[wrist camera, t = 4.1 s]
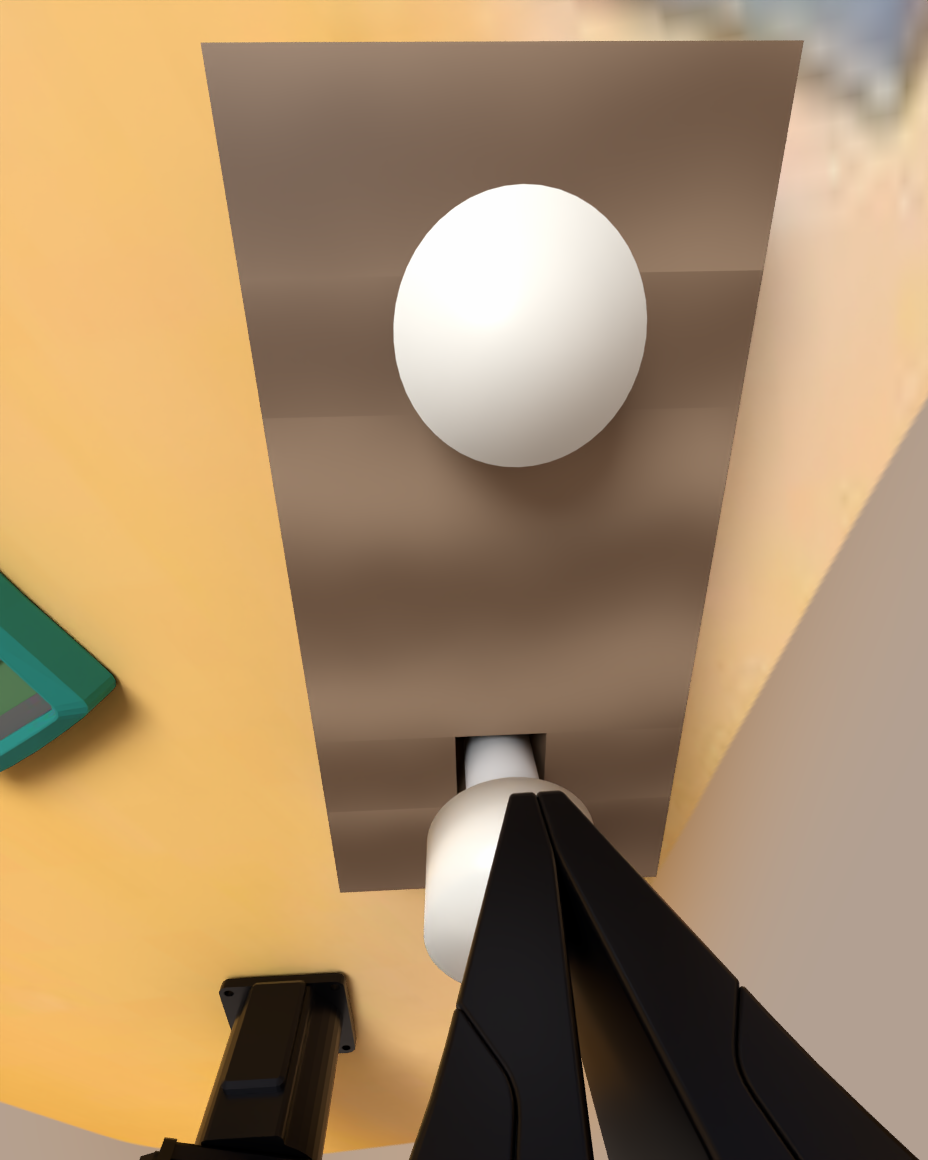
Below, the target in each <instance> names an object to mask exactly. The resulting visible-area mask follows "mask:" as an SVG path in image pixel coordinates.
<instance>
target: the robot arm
mask: <svg viewBox="0 0 928 1160" xmlns="http://www.w3.org/2000/svg"><path fill="white" fill-rule="evenodd" d="M219 995H220V998H221V1001H222V1004H223V1007H224V1010H225V1013H226V1016H227V1019H228V1022H229V1025H230V1028H231V1033H230V1036H229V1039H228V1042H227V1046H226V1049H225V1052H224V1055H223V1058H222V1061H221V1064H220V1067H219V1070H218V1073H217V1076H216V1080H215V1083H214V1086H213V1089H212V1092H211V1095H210V1098H209V1101H208V1104H207V1107H206V1110H205V1114H204V1117H203V1120H202V1123H201V1126H200V1129H199V1132H198V1135H197V1138H196V1141H195V1144H187V1143H180V1142H177V1139H174V1138H166V1137H165V1138H164V1141H163V1144H162V1147H161V1149H160V1151H155V1152H154V1153H151V1154H147V1155H144V1156H141V1157H140V1160H322V1155H323V1149H324V1143H325V1136H326V1130H327V1123H328V1117H329V1110H330V1104H331V1097H332V1091H333V1084H334V1078H335V1071H336V1065H337V1059H338V1053H349V1052H352V1051H354V1050H355V1044H356V1034H355V1029H354V1023H353V1017H352V1011H351V1006H350V1000H349V994H348V988H347V983H346V978H345V976H343V975H342V974H339V973H331V974H313V975H294V976H276V977H258V978H240V979H227V980H225V981H223V983H222V985H221V988H220V991H219ZM456 1008H457V1009H456V1010H455V1011H454V1013H453V1017H452V1021H451V1025H450V1029H449V1033H448V1037H447V1040H446V1044H445V1048H444V1051H443V1055H442V1058H441V1062H440V1065H439V1069H438V1072H437V1076H436V1079H435V1083H434V1086H433V1090H432V1093H431V1097H430V1100H429V1103H428V1106H427V1109H426V1112H425V1114H424V1117H423V1120H422V1123H421V1126H420V1129H419V1132H418V1135H417V1138H416V1141H415V1144H414V1147H413V1149H412V1153H411V1155H410V1158H409V1160H594V1156H593V1148H592V1140H591V1132H590V1124H589V1116H588V1108H587V1101H586V1092H585V1084H584V1077H583V1068H582V1062H583V1065H584V1069H585V1073H586V1077H587V1080H588V1084H589V1088H590V1091H591V1095H592V1099H593V1103H594V1107H595V1110H596V1114H597V1118H598V1121H599V1125H600V1129H601V1133H602V1136H603V1140H604V1144H605V1148H606V1151H607V1155H608V1159H609V1160H919V1159H918V1158H917V1157H915V1156H914V1155H913V1154H912V1153H911V1152H910V1151H909V1150H908V1149H907V1148H906V1147H905V1146H904V1145H903V1144H902V1143H900V1142H899V1141H898V1140H897V1139H896V1138H895V1137H894V1136H893V1135H892V1134H891V1133H890V1132H889V1131H888V1130H887V1129H885V1128H884V1127H883V1126H882V1125H881V1124H880V1123H879V1122H878V1121H877V1120H876V1119H875V1118H874V1117H873V1116H872V1115H871V1114H869V1112H867V1111H866V1110H865V1109H864V1108H863V1107H862V1106H861V1105H860V1104H859V1103H858V1102H857V1101H856V1100H855V1099H854V1098H853V1097H852V1096H851V1095H850V1094H849V1093H848V1092H847V1091H846V1090H845V1089H844V1088H843V1087H842V1086H840V1085H839V1084H838V1083H837V1082H836V1081H835V1080H834V1079H833V1078H832V1077H831V1076H830V1075H829V1074H828V1073H827V1072H826V1071H825V1070H824V1069H823V1068H822V1067H821V1066H820V1065H819V1064H818V1063H817V1062H816V1061H815V1060H814V1059H813V1058H812V1057H811V1056H810V1055H809V1054H808V1053H807V1052H806V1051H805V1050H804V1049H803V1048H802V1047H801V1046H800V1045H799V1044H798V1043H797V1042H796V1040H794V1039H793V1037H792V1036H791V1035H789V1033H788V1032H787V1031H786V1030H785V1029H784V1028H783V1027H782V1026H781V1025H780V1024H779V1023H778V1022H777V1021H776V1020H775V1019H774V1018H773V1017H772V1016H771V1015H770V1014H769V1013H768V1011H767V1010H766V1009H765V1008H764V1007H763V1006H762V1005H761V1004H760V1003H759V1002H758V1001H757V1000H756V999H755V997H754V996H753V995H752V994H751V993H750V992H749V991H748V990H747V989H746V988H745V987H743V986H741V987H740V988H739V981H738V979H737V978H736V977H735V976H734V975H733V974H732V973H731V972H730V971H729V970H728V969H727V967H726V966H725V965H724V964H723V963H722V962H721V961H720V960H719V959H718V958H717V957H716V956H715V955H714V954H713V953H712V951H711V950H710V949H709V948H708V947H707V946H706V945H705V944H704V943H703V942H702V941H701V940H700V938H698V936H696V934H695V933H694V932H693V931H692V930H691V929H690V928H689V927H688V926H687V925H686V923H685V922H684V921H683V920H682V919H681V918H680V917H679V916H678V915H677V914H676V913H675V912H674V910H673V909H672V908H671V907H670V906H669V905H668V904H667V903H666V902H665V901H664V900H663V899H662V898H661V897H660V896H659V895H658V894H657V892H656V891H655V890H654V889H653V888H652V887H651V886H650V885H649V884H648V882H647V881H646V880H645V879H644V878H643V877H642V876H641V875H640V874H639V873H638V872H637V871H636V870H635V869H634V867H633V866H632V865H631V864H630V863H629V862H628V861H627V860H626V859H625V858H624V857H623V856H622V855H621V853H620V852H619V851H618V850H617V849H616V848H615V847H614V846H613V845H612V844H611V843H610V842H609V841H608V839H607V838H606V837H605V836H604V835H603V834H602V833H601V832H600V831H599V830H598V829H597V828H596V827H595V825H594V824H593V823H592V822H591V821H590V820H589V819H588V818H587V817H586V816H585V815H584V814H583V813H582V811H581V810H580V809H579V808H578V807H577V806H576V805H575V804H574V803H573V802H572V801H571V800H570V799H569V797H568V796H567V795H566V794H565V793H564V792H562V791H560V790H555V791H540V792H538V793H537V795H535V793H533V792H523V793H512V794H511V795H510V796H509V800H508V803H507V807H506V811H505V815H504V819H503V823H502V827H501V831H500V835H499V839H498V843H497V847H496V850H495V854H494V858H493V862H492V866H491V870H490V874H489V878H488V882H487V886H486V890H485V894H484V897H483V901H482V905H481V909H480V913H479V917H478V921H477V925H476V929H475V933H474V937H473V940H472V944H471V948H470V952H469V956H468V960H467V964H466V968H465V972H464V976H463V980H462V983H461V987H460V991H459V995H458V999H457V1003H456ZM581 1058H582V1060H581Z"/></svg>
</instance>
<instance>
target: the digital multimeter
mask: <svg viewBox="0 0 928 1160" xmlns="http://www.w3.org/2000/svg"><path fill="white" fill-rule="evenodd" d="M115 687H116V680H115V679H114V677H113V675H112V674H111V673H110V672H109V671H108V670H106V669H105V668H104V667H103V666H102V665H101V664H100V663H99V662H98V661H97V660H96V659H95V658H94V657H93V656H92V655H91V654H89V653H88V652H87V651H86V650H85V649H84V648H83V647H82V646H81V645H80V644H78V643H77V642H76V641H75V640H74V639H73V638H72V637H71V636H70V635H68V634H67V633H66V632H65V631H64V630H63V629H62V628H61V627H59V626H58V625H57V624H56V623H55V622H54V621H53V620H52V619H50V618H49V617H48V616H47V615H46V614H45V613H44V612H43V611H41V610H40V609H39V608H38V607H37V606H36V605H35V604H34V603H32V602H31V601H30V600H29V599H28V598H27V597H26V596H25V595H24V594H23V593H22V592H21V591H20V590H18V589H17V588H16V587H15V586H14V585H13V584H12V583H11V582H10V581H9V580H8V579H7V578H6V577H5V576H4V575H3V574H2V573H1V572H0V772H1V771H3V770H5V769H7V768H9V767H11V766H13V765H15V764H16V763H18V762H20V761H21V760H23V759H25V758H26V757H28V756H30V755H31V754H33V753H35V752H36V751H38V750H39V749H41V748H42V747H44V746H45V745H46V744H48V743H49V742H51V741H52V740H54V739H55V738H57V737H58V736H59V735H61V734H62V733H63V732H65V731H66V730H67V729H69V728H70V727H71V726H73V725H74V724H75V723H77V722H78V721H79V720H81V719H82V718H84V717H85V716H86V715H87V714H88V713H89V712H90V711H91V710H92V709H93V708H94V707H95V706H96V705H97V704H98V703H100V702H101V701H102V700H103V699H104V698H105V697H106V696H107V695H108V694H109V693H110V692H111V691H112V690H113V689H114V688H115ZM49 710H50V711H49ZM44 713H45V714H44Z"/></svg>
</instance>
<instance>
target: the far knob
mask: <svg viewBox="0 0 928 1160" xmlns="http://www.w3.org/2000/svg"><path fill="white" fill-rule="evenodd" d="M464 761H465V780H466V790H464V791H462V792H460V793H459V794H457V795H456V796H454V797H453V798H452V799H450V800H449V801H448V802H447V803H446V804H445V805H444V806H443V807H442V808H441V809H440V811H439V812H438V813H437V814H436V816H435V818H434V819H433V821H432V823H431V826H430V828H429V832H428V837H427V857H426V885H425V914H424V941H425V946H426V949H427V951H428V954H429V956H430V957H431V959H432V960H433V962H434V963H435V964H436V965H437V966H438V968H439V969H440V970H442V971H443V972H444V973H445V974H446V975H448V976H449V977H451V978H453V979H454V980H456V981H458V982H460V983H462V980H463V976H464V972H465V968H466V964H467V960H468V956H469V952H470V948H471V944H472V940H473V937H474V933H475V929H476V925H477V921H478V917H479V913H480V909H481V905H482V901H483V897H484V894H485V890H486V886H487V882H488V878H489V874H490V870H491V866H492V862H493V858H494V854H495V850H496V847H497V843H498V839H499V835H500V831H501V827H502V823H503V819H504V815H505V811H506V807H507V803H508V800H509V796H510V795H511V794H512V793H523V792H533V793H535V795H537V793H538V792H540V791H555V790H560V791H562V792H564V793H565V794H566V795H567V796H568V797H569V799H570V800H571V801H572V802H573V803H574V804H575V805H576V806H577V807H578V808H579V809H580V810H581V811H582V813H583V814H584V815H585V816H586V817H587V818H588V819H589V820H590V821H591V822H592V823H593V821H592V818H591V815H590V813H589V811H588V810H587V808H586V807H585V805H584V804H583V803H582V802H581V800H579V799H578V798H577V797H576V796H575V795H574V794H573V793H571V792H570V791H568V790H567V789H565V788H563V787H561V786H559V785H557V784H554V783H551V782H548V781H545V780H540V779H539V776H538V772H537V768H536V764H535V760H534V755H533V751H532V747H531V743H530V739H529V735H528V734H513V735H489V736H466V737H465V740H464Z"/></svg>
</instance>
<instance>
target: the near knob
mask: <svg viewBox="0 0 928 1160" xmlns="http://www.w3.org/2000/svg"><path fill="white" fill-rule="evenodd" d="M646 331H647V310H646V298H645V293H644V288H643V283H642V279H641V276H640V273H639V270H638V267H637V264H636V262H635V260H634V257H633V255H632V253H631V251H630V249H629V247H628V245H627V244H626V242H625V241H624V239H623V238H622V236H621V235H620V233H619V232H618V231H617V229H616V228H615V227H614V226H613V225H612V224H611V223H610V221H609V220H608V219H607V218H606V217H605V216H604V215H602V214H601V213H600V212H599V211H598V210H597V209H595V208H594V207H593V206H592V205H590V204H588V203H587V202H585V201H583V200H582V199H580V198H579V197H577V196H575V195H572V194H570V193H567V192H565V191H563V190H560V189H556V188H552V187H548V186H543V185H532V184H518V185H507V186H502V187H498V188H494V189H491V190H487V191H485V192H482V193H480V194H478V195H475V196H473V197H471V198H469V199H467V200H466V201H464V202H463V203H461V204H459V205H458V206H456V207H454V208H453V209H452V210H451V211H450V212H448V213H447V214H446V215H445V216H444V217H442V218H441V219H440V220H439V221H438V222H437V223H436V224H435V225H434V227H433V228H432V229H431V230H430V231H429V232H428V233H427V234H426V236H425V237H424V239H423V240H422V242H421V243H420V244H419V246H418V247H417V249H416V250H415V252H414V254H413V256H412V258H411V260H410V262H409V264H408V266H407V268H406V271H405V273H404V276H403V279H402V281H401V284H400V288H399V292H398V296H397V300H396V305H395V314H394V348H395V356H396V362H397V366H398V370H399V374H400V378H401V380H402V383H403V386H404V388H405V391H406V394H407V395H408V397H409V399H410V401H411V403H412V405H413V407H414V409H415V410H416V411H417V413H418V414H419V416H420V417H421V419H422V420H423V421H424V423H425V424H426V425H427V426H428V427H429V428H430V429H431V430H432V432H433V433H434V434H435V435H436V436H438V437H439V438H440V439H441V440H442V441H443V442H445V443H446V444H447V445H449V446H450V447H452V448H453V449H455V450H456V451H458V452H459V453H461V454H463V455H465V456H468V457H470V458H472V459H474V460H477V461H480V462H483V463H487V464H491V465H497V466H502V467H526V466H535V465H539V464H544V463H548V462H551V461H553V460H556V459H559V458H562V457H564V456H566V455H568V454H570V453H572V452H574V451H575V450H577V449H579V448H580V447H582V446H583V445H585V444H586V443H587V442H589V441H590V440H591V439H593V438H594V437H595V436H596V435H597V434H598V433H599V432H601V431H602V430H603V429H604V427H605V426H606V425H607V424H608V423H609V422H610V421H611V420H612V419H613V417H614V416H615V415H616V413H617V412H618V410H619V409H620V408H621V406H622V405H623V403H624V401H625V400H626V398H627V396H628V394H629V392H630V390H631V389H632V386H633V384H634V381H635V379H636V377H637V374H638V372H639V368H640V364H641V361H642V357H643V353H644V347H645V341H646Z"/></svg>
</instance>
